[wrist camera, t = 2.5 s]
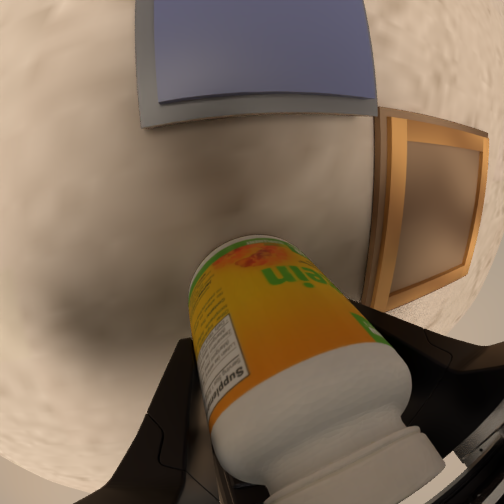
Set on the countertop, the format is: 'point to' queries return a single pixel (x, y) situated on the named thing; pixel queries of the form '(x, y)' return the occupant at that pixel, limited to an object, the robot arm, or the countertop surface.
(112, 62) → the countertop surface
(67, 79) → the countertop surface
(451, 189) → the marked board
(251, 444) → the supplement bottle
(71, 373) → the countertop surface
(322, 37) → the ink pad
